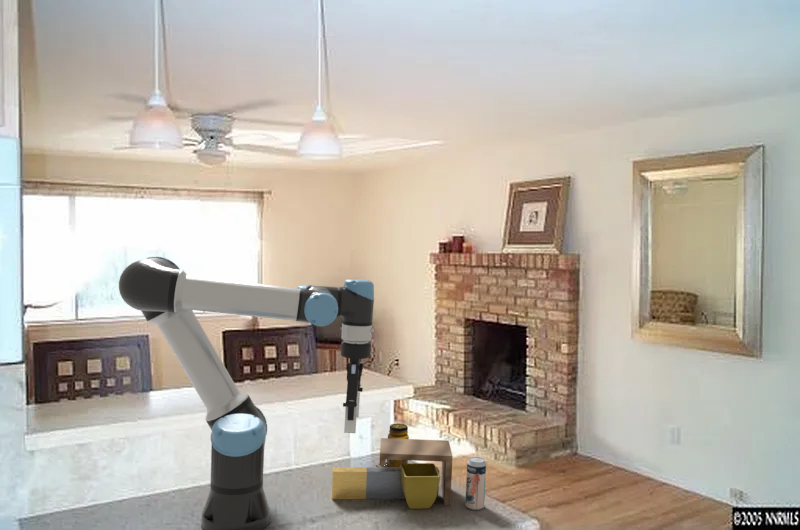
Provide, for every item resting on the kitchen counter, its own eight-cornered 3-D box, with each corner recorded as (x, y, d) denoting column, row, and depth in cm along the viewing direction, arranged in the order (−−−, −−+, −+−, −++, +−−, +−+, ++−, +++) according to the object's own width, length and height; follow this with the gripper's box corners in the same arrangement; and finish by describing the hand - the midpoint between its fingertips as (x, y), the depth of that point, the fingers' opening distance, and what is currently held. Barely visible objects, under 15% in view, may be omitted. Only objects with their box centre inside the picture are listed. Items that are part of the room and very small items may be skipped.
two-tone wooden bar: (331, 499, 167) (332, 471, 166) (331, 494, 170) (332, 467, 169) (438, 498, 170) (439, 471, 170) (436, 493, 173) (437, 466, 173)
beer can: (461, 504, 166) (463, 457, 166) (477, 502, 168) (479, 455, 168) (471, 512, 162) (473, 463, 161) (488, 509, 164) (490, 461, 163)
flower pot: (439, 512, 161) (440, 476, 161) (403, 513, 160) (404, 476, 160) (432, 497, 170) (434, 463, 170) (398, 498, 169) (400, 463, 168)
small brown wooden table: (378, 502, 166) (379, 453, 165) (379, 484, 178) (380, 438, 177) (450, 505, 166) (452, 455, 165) (446, 486, 178) (448, 440, 177)
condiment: (413, 468, 190) (415, 427, 190) (388, 473, 186) (390, 431, 185) (399, 460, 196) (401, 420, 196) (374, 465, 192) (376, 424, 191)
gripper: (369, 350, 155) (364, 440, 156) (372, 334, 180) (368, 411, 181) (337, 349, 155) (332, 439, 156) (345, 332, 180) (340, 410, 181)
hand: (351, 424), depth 168 cm, fingers open, 13 cm apart
